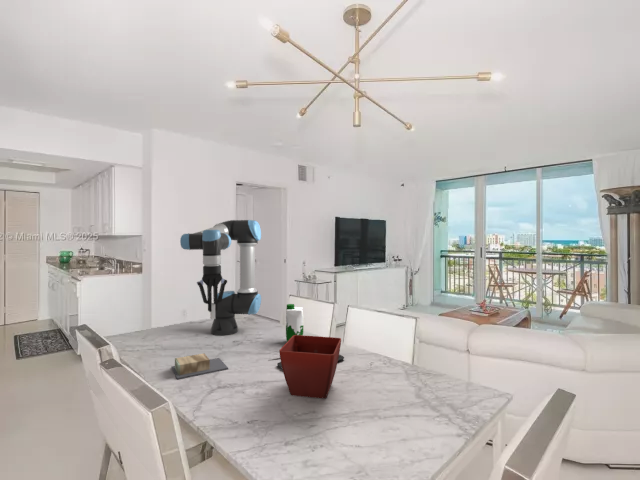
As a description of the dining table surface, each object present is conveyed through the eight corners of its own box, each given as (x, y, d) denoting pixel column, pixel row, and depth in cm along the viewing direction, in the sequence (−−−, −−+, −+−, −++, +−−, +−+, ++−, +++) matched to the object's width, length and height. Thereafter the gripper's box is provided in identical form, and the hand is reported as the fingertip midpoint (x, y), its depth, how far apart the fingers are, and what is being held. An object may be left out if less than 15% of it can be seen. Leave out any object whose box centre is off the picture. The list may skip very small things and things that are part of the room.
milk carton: (286, 340, 185) (286, 303, 185) (303, 340, 185) (303, 303, 184) (284, 345, 176) (284, 306, 176) (302, 345, 176) (302, 306, 176)
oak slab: (204, 353, 151) (174, 358, 145) (209, 359, 143) (178, 365, 137) (204, 362, 151) (174, 367, 145) (209, 369, 143) (178, 375, 137)
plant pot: (333, 405, 114) (333, 354, 114) (278, 399, 118) (278, 350, 118) (341, 381, 133) (341, 337, 133) (293, 377, 137) (293, 334, 137)
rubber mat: (219, 359, 157) (219, 357, 157) (228, 369, 145) (228, 367, 145) (171, 367, 146) (171, 366, 146) (177, 379, 134) (177, 378, 134)
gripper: (224, 263, 158) (225, 314, 159) (194, 265, 151) (195, 318, 152) (229, 264, 152) (230, 318, 153) (198, 266, 145) (199, 322, 146)
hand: (212, 318), depth 152 cm, fingers closed
